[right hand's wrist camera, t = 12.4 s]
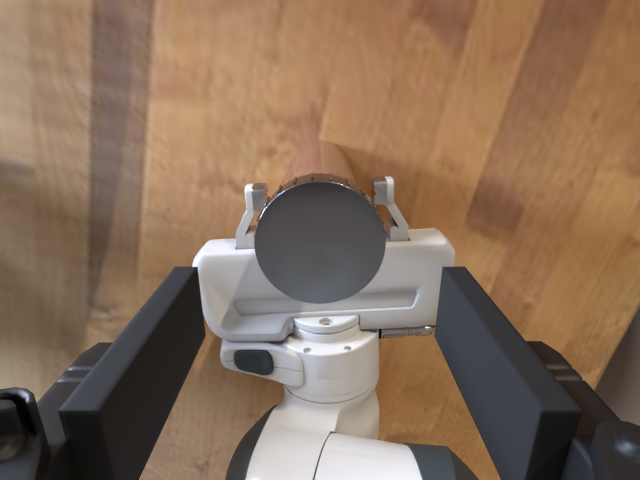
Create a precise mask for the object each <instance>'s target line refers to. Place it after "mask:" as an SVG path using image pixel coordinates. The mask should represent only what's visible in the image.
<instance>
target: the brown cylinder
mask: <svg viewBox="0 0 640 480" xmlns="http://www.w3.org/2000/svg"><path fill="white" fill-rule="evenodd" d="M311 172H314V174H315V173H325V174H329V172H330V173H332V175H337V176H340V177H343V178H345V179H346V177H347V178H348V179H349V181H351V182H353V183H354V184H356V185H357V186H358V184H357V181H356V179H355V176H354V173H353V171H352V168H351V166H350V163H349V161H348V159H347V156H346V155H345V153H344V152H343V151H342V150H341V149H340V148H339V147H338V146H336V145H335V144H333V143H330V142H327V141H312V142H309V143H307V144H305V145H304V146H302V147H301V148H300V149H299V150H298V151H297V152H296V153H295V155H294V156H293V159H292V161H291V163H290V166H289V168H288V171H287V173H286V176H285V178H284V181H283V184H282V185H284V184H286V183H287V182H289V181H291V180H293V179H294V177H295V176H297V177H300V176H303V175H308V174H311Z"/></svg>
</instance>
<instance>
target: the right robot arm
mask: <svg viewBox="0 0 640 480" xmlns="http://www.w3.org/2000/svg"><path fill="white" fill-rule="evenodd" d="M204 338H205V327H204V318H203V310H202V301H201V292H200V283H199V275H198V267H175V268H174V269H173V270H172V271H171V272H170V274H169V275H168V276H167V277H166V279H165V280H164V281H163V282H162V284H161V285H160V286H159V287H158V288H157V290H156V291H155V292H154V293H153V295H152V296H151V297H150V298H149V299H148V301H147V302H146V303H145V304H144V306H143V307H142V308H141V309H140V311H139V312H138V313H137V314H136V315H135V317H134V318H133V319H132V320H131V322H130V323H129V324H128V325H127V326H126V328H125V329H124V330H123V331H122V333H121V334H120V335H119V336H118V337H117V339H116V340H115V341H114V342H113V343H98V344H96V345H95V346H93V347H92V348H90V349H88V350H87V351H85V352H84V353H82V354H81V355H80V356H79V357H78V358H77V359H76V360H75V361H74V363H73V364H72V365H71V366H70V367H69V370H68V371H65V372H64V374H63V375H62V376H61V377H60V378H59V379H58V382H55V384H54V385H53V386H52V387H51V388H50V389H49V390H48V391H47V392H46V394H45V395H44V396H43V397H42V398H41V399H40V400H39V401H38V402H37V404H36V400H35V397H34V394H33V393H32V392H30V391H29V390H28V389H24V388H16V387H14V388H7V389H0V480H139V478H140V476H141V474H142V472H143V469H144V467H145V465H146V463H147V461H148V459H149V456H150V454H151V452H152V450H153V448H154V446H155V444H156V441H157V439H158V437H159V435H160V433H161V431H162V428H163V426H164V424H165V422H166V420H167V418H168V416H169V413H170V411H171V409H172V407H173V405H174V403H175V400H176V398H177V396H178V394H179V392H180V390H181V388H182V385H183V383H184V381H185V379H186V377H187V375H188V372H189V370H190V368H191V366H192V364H193V362H194V360H195V357H196V355H197V353H198V351H199V349H200V347H201V344H202V342H203V340H204ZM435 338H436V340H437V342H438V344H439V347H440V349H441V351H442V353H443V355H444V357H445V360H446V362H447V364H448V366H449V368H450V370H451V372H452V375H453V377H454V379H455V381H456V383H457V385H458V388H459V390H460V392H461V394H462V396H463V398H464V400H465V403H466V405H467V407H468V409H469V411H470V413H471V416H472V418H473V420H474V422H475V424H476V426H477V428H478V431H479V433H480V435H481V437H482V439H483V441H484V444H485V446H486V448H487V450H488V452H489V454H490V456H491V459H492V461H493V463H494V465H495V467H496V469H497V472H498V474H499V476H500V478H501V480H640V426H638V425H635V424H632V423H630V422H624V421H621V420H620V419H619V418H618V417H617V416H616V415H615V414H614V413H613V412H612V410H611V409H610V408H609V407H608V406H607V405H606V404H605V403H604V402H603V400H602V399H601V398H600V397H599V396H598V395H597V394H596V393H595V392H594V391H593V389H592V388H591V387H590V386H589V385H588V384H587V383H586V382H585V381H582V377H581V376H580V375H579V374H578V373H577V372H576V371H575V370H574V369H572V366H571V365H570V364H569V363H568V362H567V361H566V360H565V359H564V357H563V356H562V355H561V354H560V353H559V352H557V351H556V350H554V349H552V348H551V347H549V346H548V345H546V344H545V343H543V342H541V341H525V340H524V339H523V337H522V336H521V335H520V334H519V333H518V331H517V330H516V329H515V328H514V326H513V325H512V324H511V323H510V322H509V320H508V319H507V318H506V317H505V315H504V314H503V313H502V312H501V311H500V309H499V308H498V307H497V306H496V304H495V303H494V302H493V301H492V299H491V298H490V297H489V296H488V295H487V293H486V292H485V291H484V290H483V288H482V287H481V286H480V285H479V284H478V282H477V281H476V280H475V279H474V277H473V276H472V275H471V274H470V272H469V271H468V270H467V269H466V268H465V267H442V275H441V283H440V292H439V301H438V310H437V318H436V327H435Z"/></svg>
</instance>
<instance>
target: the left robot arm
mask: <svg viewBox="0 0 640 480" xmlns="http://www.w3.org/2000/svg"><path fill="white" fill-rule="evenodd" d="M371 185H372V187H373V189H372V190H371V197H372V199H373V200H374V202H375V205H381V204H385V205H386V207H387V209H388V210H389V212H390V214H391V215H392V217H393V219H392V218H389V219H386V231H385V238H386V247H385V254H384V258H383V261H382V264H381V266H380V268H379V270H378V272H377V274H376V275H375V277H374V278H373V279H372V280H371V282H370V283H369V284H368V285H367V286H366V287H365V288H363V289H362V290H361V291H359V292H358V293H356V294H355V295H353V296H351V297H349V298H346V299H344V300H341V301H338V302H333V303H327V304H314V303H307V302H302V301H299V300H296V299H293V298H291V297H289V296H287V295H285V294H284V293H282V292H281V291H279V290H278V289H277V288H275V287H274V286H273V285H272V284H271V283H270V282H269V280H268V279H267V278H266V277H265V275H264V274H263V272H262V270H261V268H260V266H259V264H258V261H257V258H256V254H255V247H254V235H255V231H256V227H257V226H256V225H255V226H251V227H250V224H251V222H252V219H253V217H254V215H255V213H256V211H263V210H264V208H265V203H266V201H267V199H268V195H267V194H266V193H267V191H268V188H267V183H260V184H247V185H246V187H245V198H246V207H247V210H246V212H245V214H244V216H243V218H242V221H241V223H240V225H239V227H238V229H237V231H236V234H235V238H234V239H214V240H209V241H208V242H207V243H206V244H205V245H204V246H203V247H202V248H201V249H200V251H199V252H198V254H197V255H196V257H195V259H194V261H193V265H192V267H198V275H199V283H200V292H201V301H202V310H203V314H204V317H205V320H206V322H207V324H208V326H209V328H210V329H211V330H212V332H213V333H214V334H216V335H217V336H218V337H220V338H222V339H223V340H222V345H221V351H220V358H221V363H222V365H223V366H224V367H225V368H227V369H229V370H233V371H237V372H242V373H247V374H251V375H255V376H260V377H263V378H267V379H270V380H274V381H277V382H280V383H282V384H283V387H284V398H283V401H282V403H281V404H280V405H279V406H278V405H275V406H274V407H272V408H271V409H270V410H269V411H267V412H266V413H265V414H264V415H263V416H262V417H261V418H260V419H259V420H258V422H257V423H256V424H255V425H254V426H253V427H252V428H251V429H250V430H249V431H248V432H247V433H246V435H245V436H244V437H243V439H242V440H241V442H240V443H239V445H238V447H237V449H236V451H235V453H234V455H233V457H232V459H231V462H230V464H229V467H228V471H227V475H226V480H479V479H478V478H477V477H476V476H475V474H474V473H473V472H472V471H471V470H470V469H469V468H468V466H467V465H466V464H465V463H464V462H463V461H462V460H461V459H460V458H459V457H458V456H457V455H456V454H455V453H453V452H452V451H451V450H450V449H449V448H448V447H447V446H436V445H423V444H410V443H405V444H397V443H391V442H386V441H380V440H378V438H379V417H380V411H379V402H378V399H377V396H376V393H375V388H376V385H377V383H378V379H379V339H380V338H392V337H401V336H402V337H403V336H410V335H416V336H427V335H431V334H432V331H434V330H435V327H436V318H437V310H438V301H439V292H440V283H441V275H442V267H454V263H455V250H454V248H453V246H452V244H451V243H450V241H449V240H448V239H447V238H446V237H445V236H444V235H443V234H442V233H441V232H440V231H439V230H437V229H435V228H428V229H409V226H408V224H407V222H406V221H405V219H404V217H403V216H402V214H401V212H400V211H399V209H398V207H397V206H396V204H395V202H394V181H393V178H392V177H391V176H387V177H372V179H371ZM432 325H434V326H432Z"/></svg>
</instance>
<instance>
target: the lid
mask: <svg viewBox="0 0 640 480" xmlns="http://www.w3.org/2000/svg"><path fill="white" fill-rule="evenodd" d="M376 208H377V207H376V205H375V202H374V200H373V199H372V200H371V199H370V198H369V196H368V195H367V194H366V193H365V192H364V190H363V188H362V187H359V186H357V185H356V184H354V183H353V182H351V181H349V179H348V178H347V177H346V179H345V178H343V177H340V176H337V175H332V173H330V172H329V174H325V173H315V174H314V172H311V174H308V175H303V176H300V177H297V176H295V177H294V179H293V180H291V181H289V182H287V183H286V184H284V185H280V186H279V188H278V190H277V191H276V192H275V193H274V194H273V195H272V196H271V198H270V197H268V199H267V201H266V203H265V208H264V210H263V212H262V211H261V213H260V215H259V217H258V219H257V221H258V224H257V227H256V231H255V235H254V247H255V254H256V258H257V261H258V264H259V266H260V268H261V270H262V272H263V274H264V275H265V277H266V278H267V279H268V280H269V282H270V283H271V284H272V285H273V286H274V287H275V288H277V289H278V290H279V291H281V292H282V293H284V294H285V295H287V296H289V297H291V298H293V299H296V300H299V301H302V302H307V303H314V304H327V303H333V302H338V301H341V300H344V299H346V298H349V297H351V296H353V295H355V294H356V293H358V292H359V291H361V290H362V289H363V288H365V287H366V286H367V285H368V284H369V283H370V282H371V280H372V279H373V278H374V277H375V275H376V274H377V272H378V270H379V268H380V266H381V264H382V261H383V258H384V254H385V247H386V238H385V230H384V227H383V224H384V222H383V220H382V218H381V216H380V214H378V212H377V210H376Z"/></svg>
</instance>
